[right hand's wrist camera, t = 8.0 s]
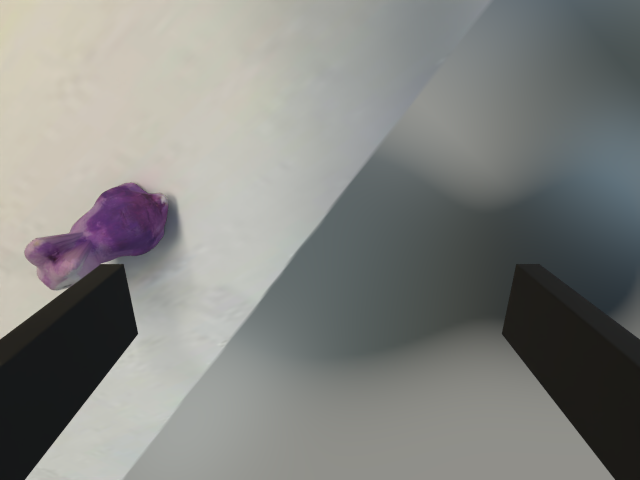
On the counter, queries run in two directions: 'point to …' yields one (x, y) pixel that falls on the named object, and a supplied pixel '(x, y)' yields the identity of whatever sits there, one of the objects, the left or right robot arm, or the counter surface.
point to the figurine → (101, 236)
